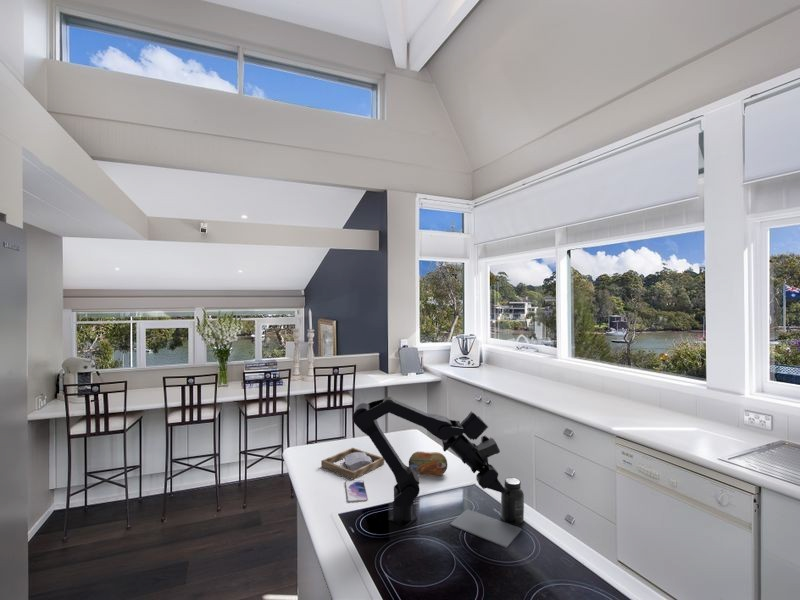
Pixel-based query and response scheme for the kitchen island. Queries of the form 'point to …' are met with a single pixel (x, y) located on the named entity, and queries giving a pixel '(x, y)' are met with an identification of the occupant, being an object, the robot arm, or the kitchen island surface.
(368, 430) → the robot arm
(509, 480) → the supplement bottle
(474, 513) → the rubber mat
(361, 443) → the kitchen island surface
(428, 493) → the kitchen island surface
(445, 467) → the tin
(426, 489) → the kitchen island surface
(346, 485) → the smartphone
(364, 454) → the stone block
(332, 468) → the walnut tray frame
